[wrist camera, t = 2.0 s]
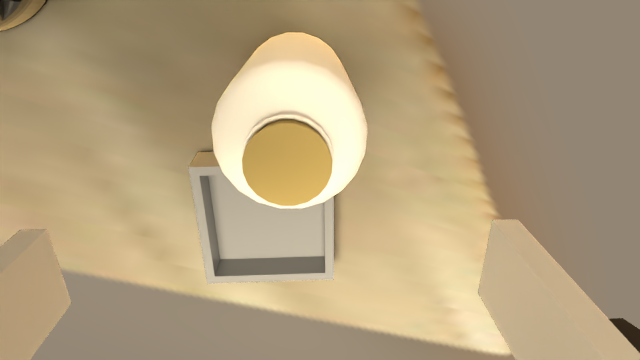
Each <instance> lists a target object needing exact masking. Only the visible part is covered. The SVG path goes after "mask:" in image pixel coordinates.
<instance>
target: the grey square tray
mask: <svg viewBox="0 0 640 360" xmlns="http://www.w3.org/2000/svg"><path fill="white" fill-rule="evenodd" d="M188 169H189V175H190V181H191V187H192V193H193V199H194V205H195V212H196V218H197V224H198V230H199V236H200V242H201V248H202V254H203V261H204V267H205V273H206V279H207V284H212V283H243V282H273V281H304V280H334V196H333V197H331V198H330V199H328V200H326V201H325V202H323V203H319V204H316V205H312V206H309V207H305V208H276V207H272V206H269V205H265V204H262V203H258V202H256V201H255V200H253V199H251V198H250V197H248V196H247V195H245V194H243V193H242V192H240V191H239V190H238V189H237V188H236V187H235V186H234V185H233V184H232V183H231V182H230V180H229V179H228V178H227V177H226V176H225V175H224V174H223V172H222V170H221V167H220V165H219V163H218V161H217V158H216V156H215V154H214V151H213V152H198V153H197V155H196V156H195V158H194V159H193V161H192V162H191V164H190V165H189V167H188Z"/></svg>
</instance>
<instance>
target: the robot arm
mask: <svg viewBox="0 0 640 360" xmlns="http://www.w3.org/2000/svg"><path fill="white" fill-rule="evenodd" d="M45 2H46V0H0V31H2V30H6V29H9V28H12V27H15V26H17V25H19V24H21V23H23V22H25V21H26V20H28V19H29V18H31V17H32V16H33V15H34V14H35V13H36V12H37V11H38V10H39V9H40V8H41V7H42V6H43V4H44V3H45ZM478 294H479V296H480V297H481V299H482V301H483V303H484V304H485V306H486V308H487V310H488V312H489V313H490V315H491V317H492V319H493V320H494V322H495V324H496V326H497V327H498V329H499V331H500V333H501V334H502V336H503V338H504V340H505V342H506V343H507V345H508V347H509V349H510V350H511V352H512V354H513V356H514V357H515V359H516V360H640V329H638V328H637V327H635V326H633V325H632V324H630V323H629V322H627V321H626V320H624V319H623V318H621V319H620V318H618V319H608V318H607V317H606V316H605V315H604V314H603V313H602V312H601V310H600V309H599V308H598V307H597V306H596V305H595V304H594V303H593V302H592V301H591V299H590V298H589V297H588V296H587V295H586V294H585V293H584V292H583V291H582V290H581V289H580V288H579V286H578V285H577V284H576V283H575V282H574V281H573V280H572V279H571V278H570V276H569V275H568V274H567V273H566V272H565V271H564V270H563V269H562V268H561V267H560V265H559V264H558V263H557V262H556V261H555V260H554V259H553V258H552V257H551V256H550V255H549V253H548V252H547V251H546V250H545V249H544V248H543V247H542V246H541V245H540V244H539V243H538V241H537V240H536V239H535V238H534V237H533V236H532V235H531V234H530V233H529V232H528V231H527V230H526V228H525V227H524V226H523V225H522V224H521V223H520V222H519V221H518V220H517V219H516V220H492V224H491V229H490V234H489V239H488V244H487V249H486V254H485V259H484V264H483V269H482V274H481V279H480V284H479V289H478ZM70 305H71V300H70V297H69V294H68V291H67V288H66V285H65V282H64V279H63V276H62V273H61V270H60V267H59V264H58V261H57V258H56V255H55V252H54V249H53V246H52V243H51V240H50V237H49V234H48V231H47V229H40V230H19V231H18V232H17V233H16V234H15V235H14V236H12V237H11V238H10V239H9V240H8V241H7V242H5V243H4V244H3V245H2V246H1V247H0V360H30V359H31V357H32V356H33V355H34V353H35V352H36V351H37V349H38V348H39V347H40V345H41V344H42V343H43V341H44V340H45V339H46V337H47V336H48V334H49V333H50V331H51V330H52V329H53V328H54V326H55V325H56V323H57V322H58V321H59V320H60V318H61V317H62V315H63V314H64V313H65V311H66V310H67V308H68V307H69V306H70Z"/></svg>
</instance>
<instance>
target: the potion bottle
mask: <svg viewBox="0 0 640 360" xmlns="http://www.w3.org/2000/svg"><path fill="white" fill-rule="evenodd" d="M367 128H368V127H367V123H366V119H365V115H364V112H363V108H362V104H361V102H360V100H359V98H358V96H357V94H356V92H355V90H354V88H353V85H352V83H351V81H350V79H349V77H348V75H347V73H346V71H345V69H344V67H343V65H342V63H341V61H340V60H339V58H338V57H337V55H336V54H335V52H334V51H333V49H332V48H331V47H330V46H328V45H327V44H326V43H324V42H323V41H322V40H321V39H319V38H317V37H314V36H311V35H309V34H306V33H297V32H286V33H283V34H280V35H277V36H274V37H271V38H270V39H268V40H267V41H266V42H264V43H263V44H262V45H260V46H259V47H258V48H257V49H256V50H255V52H254V53H253V54H252V55H251V57H250V58H249V59H248V61H247V62H246V63H245V64H244V66H243V67H242V68H241V69H240V71H239V72H238V73H237V75H236V76H235V77H234V78H233V80H232V81H231V82H230V84H229V85H228V87H227V88H226V90H225V91H224V93H223V94H222V96H221V97H220V99H219V100H218V102H217V105H216V109H215V113H214V117H213V121H212V125H211V129H212V139H213V150H214V154H215V156H216V158H217V161H218V163H219V165H220V167H221V170H222V172H223V174H224V175H225V176H226V177H227V178H228V179H229V180H230V182H231V183H232V184H233V185H234V186H235V187H236V188H237V189H238V190H239V191H240V192H242V193H243V194H245V195H247V196H248V197H250V198H251V199H253V200H255V201H256V202H258V203H262V204H265V205H269V206H272V207H276V208H305V207H309V206H312V205H316V204H319V203H323V202H325V201H326V200H328V199H330V198H331V197H333V196H334V195H336V194H338V193H339V192H341V191H342V190H343V189H344V188H345V187H346V186H347V184H348V183H349V182H350V181H351V180H352V179H353V177H354V176H355V175H356V174H357V172H358V169H359V167H360V164H361V162H362V160H363V157H364V155H365V152H366V142H367Z"/></svg>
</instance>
